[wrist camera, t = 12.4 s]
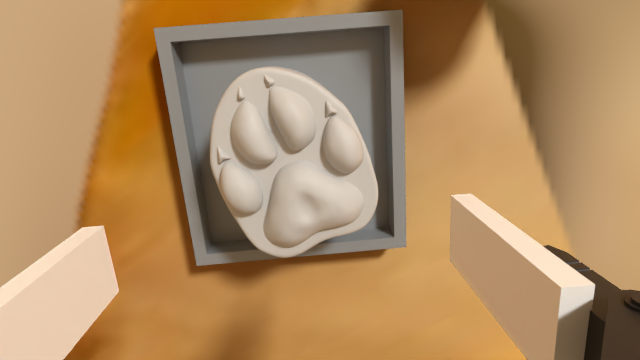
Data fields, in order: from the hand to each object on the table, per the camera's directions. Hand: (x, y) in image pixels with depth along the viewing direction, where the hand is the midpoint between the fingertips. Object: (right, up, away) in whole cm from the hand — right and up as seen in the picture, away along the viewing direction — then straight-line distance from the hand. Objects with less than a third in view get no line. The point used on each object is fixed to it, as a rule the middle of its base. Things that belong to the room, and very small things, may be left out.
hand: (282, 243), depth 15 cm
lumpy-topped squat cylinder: (-1, +6, +19) cm, 19 cm away
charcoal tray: (-1, +6, +19) cm, 20 cm away
